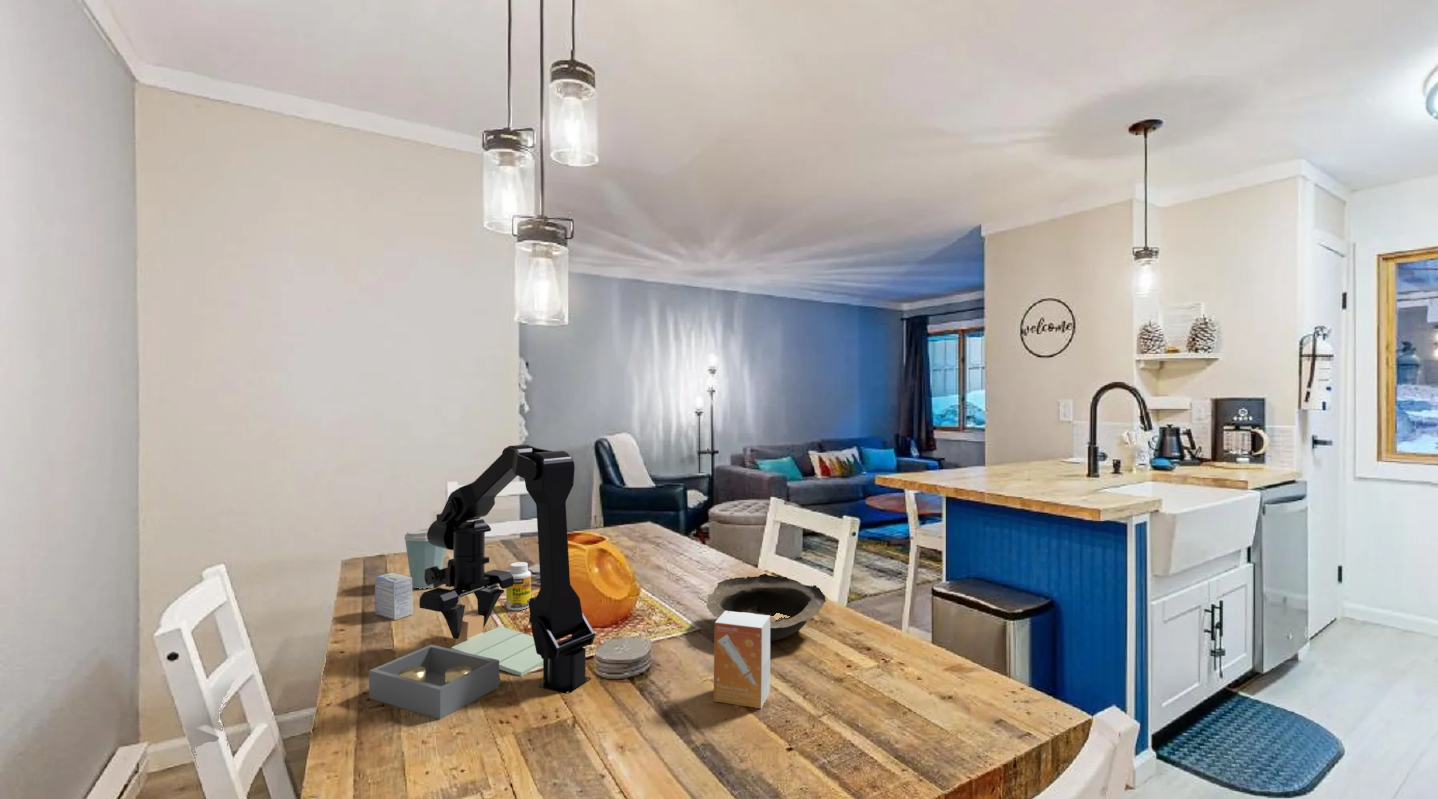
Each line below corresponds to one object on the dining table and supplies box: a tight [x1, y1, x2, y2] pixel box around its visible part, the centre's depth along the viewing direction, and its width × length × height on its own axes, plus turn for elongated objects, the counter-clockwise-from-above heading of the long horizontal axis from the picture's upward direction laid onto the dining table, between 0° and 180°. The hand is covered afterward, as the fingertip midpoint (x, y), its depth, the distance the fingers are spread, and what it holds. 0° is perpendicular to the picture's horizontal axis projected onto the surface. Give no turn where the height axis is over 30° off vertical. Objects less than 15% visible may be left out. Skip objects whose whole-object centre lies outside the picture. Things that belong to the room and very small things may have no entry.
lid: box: [450, 612, 543, 677], centre depth 120 cm, size 20×12×6 cm, turn 65°
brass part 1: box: [399, 666, 426, 683], centre depth 103 cm, size 4×4×4 cm
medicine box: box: [374, 572, 414, 621], centre depth 143 cm, size 8×4×9 cm, turn 58°
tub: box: [368, 644, 500, 720], centre depth 104 cm, size 16×12×5 cm
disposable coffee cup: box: [404, 527, 447, 590], centre depth 165 cm, size 11×11×15 cm
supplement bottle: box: [505, 561, 532, 611], centre depth 148 cm, size 6×6×10 cm
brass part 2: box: [445, 666, 471, 684], centre depth 104 cm, size 4×4×4 cm
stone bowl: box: [706, 573, 827, 642], centre depth 133 cm, size 25×25×9 cm
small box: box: [713, 611, 771, 709], centre depth 103 cm, size 8×6×13 cm
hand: (468, 632), depth 124 cm, fingers open, 6 cm apart
